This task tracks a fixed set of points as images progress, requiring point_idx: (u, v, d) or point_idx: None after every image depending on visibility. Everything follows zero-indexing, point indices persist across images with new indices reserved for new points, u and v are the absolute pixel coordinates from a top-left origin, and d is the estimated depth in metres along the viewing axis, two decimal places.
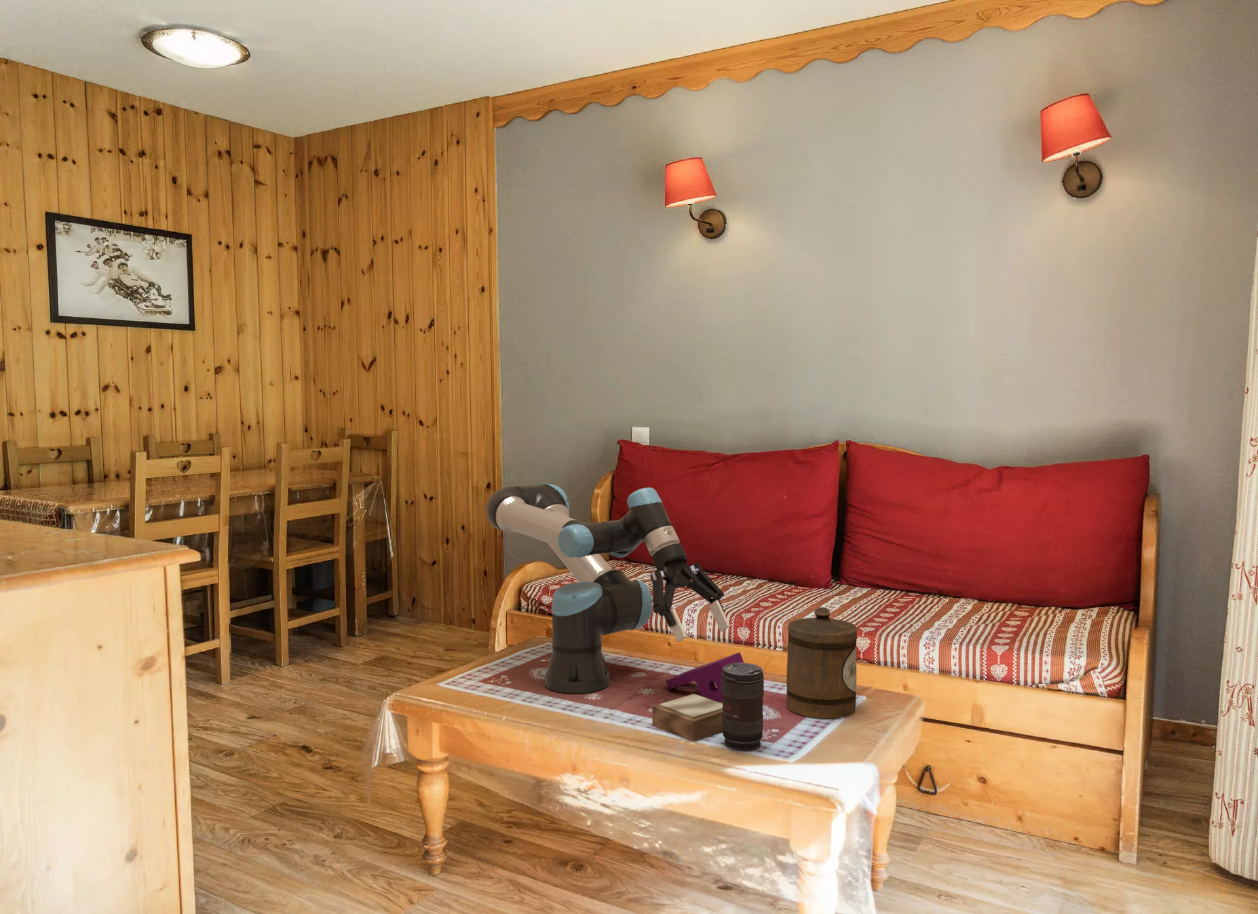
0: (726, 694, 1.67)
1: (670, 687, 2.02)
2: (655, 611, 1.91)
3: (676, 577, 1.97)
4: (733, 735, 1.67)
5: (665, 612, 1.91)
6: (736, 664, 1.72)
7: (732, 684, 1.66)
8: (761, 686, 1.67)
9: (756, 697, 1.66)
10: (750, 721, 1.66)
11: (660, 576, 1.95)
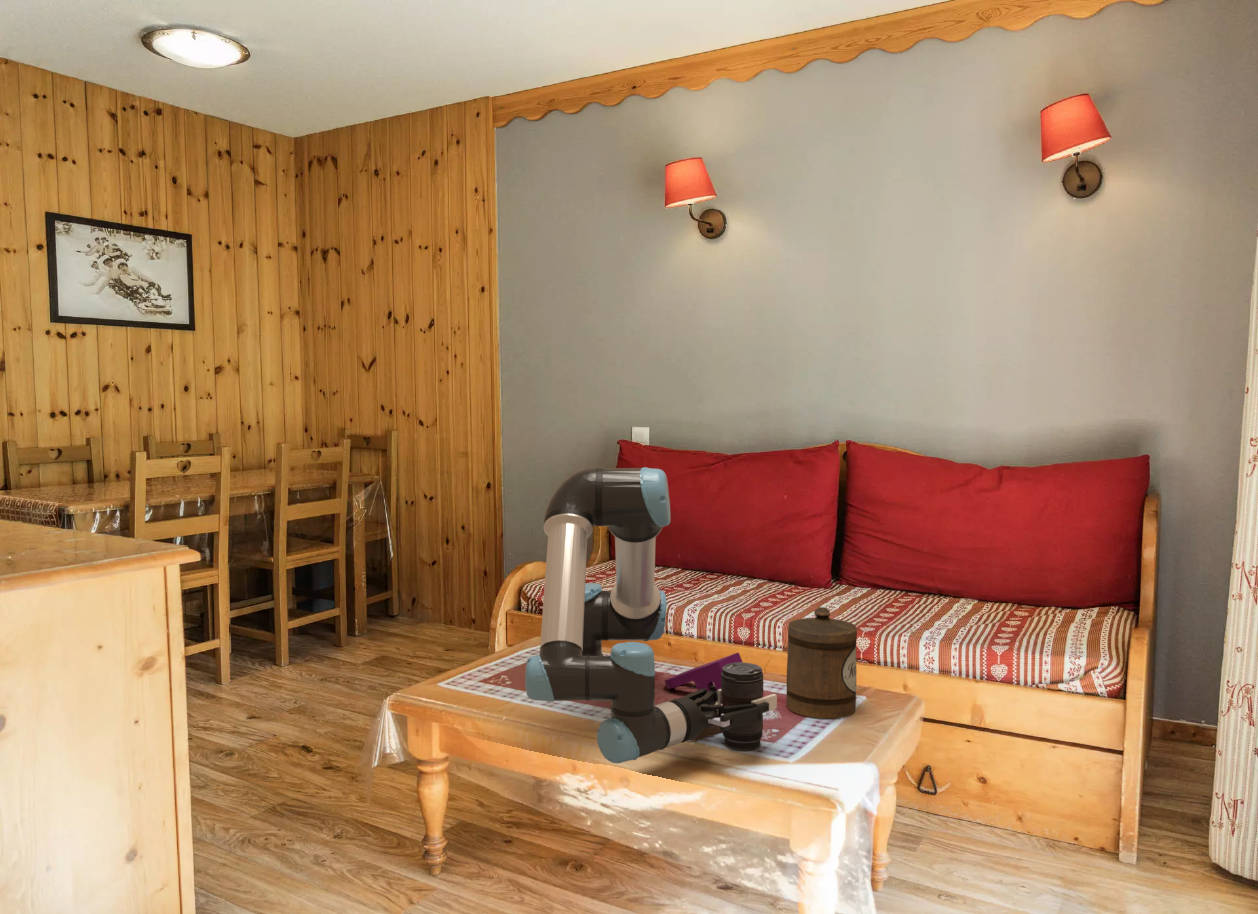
0: (725, 693, 1.67)
1: (669, 687, 2.02)
2: None
3: None
4: (733, 734, 1.67)
5: None
6: (735, 664, 1.72)
7: (731, 683, 1.66)
8: (761, 685, 1.67)
9: (756, 696, 1.66)
10: None
11: None
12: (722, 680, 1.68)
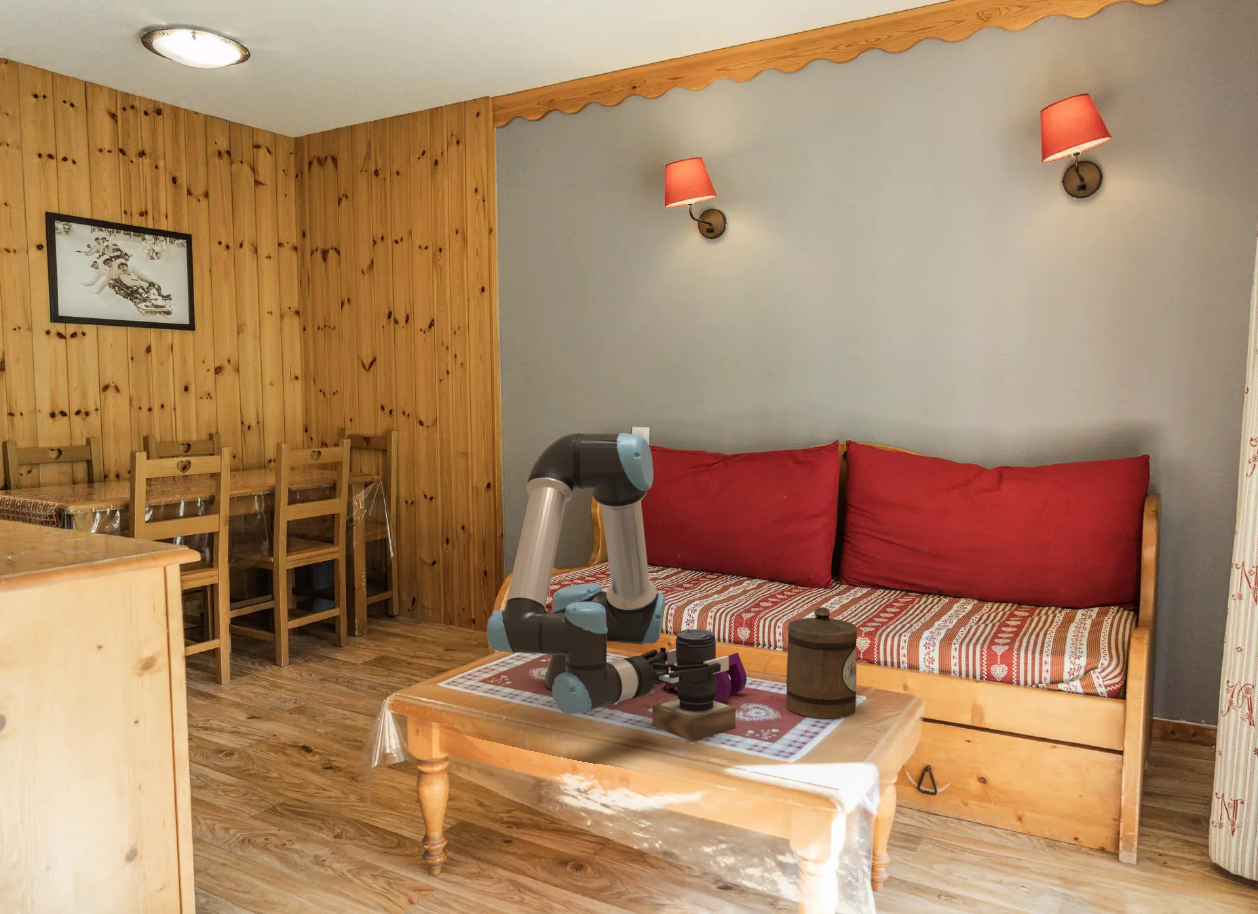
0: (679, 657, 1.76)
1: (668, 687, 2.02)
2: None
3: None
4: (687, 696, 1.75)
5: None
6: (690, 630, 1.81)
7: (684, 648, 1.75)
8: (713, 650, 1.76)
9: (708, 660, 1.75)
10: (702, 683, 1.75)
11: None
12: (676, 645, 1.77)
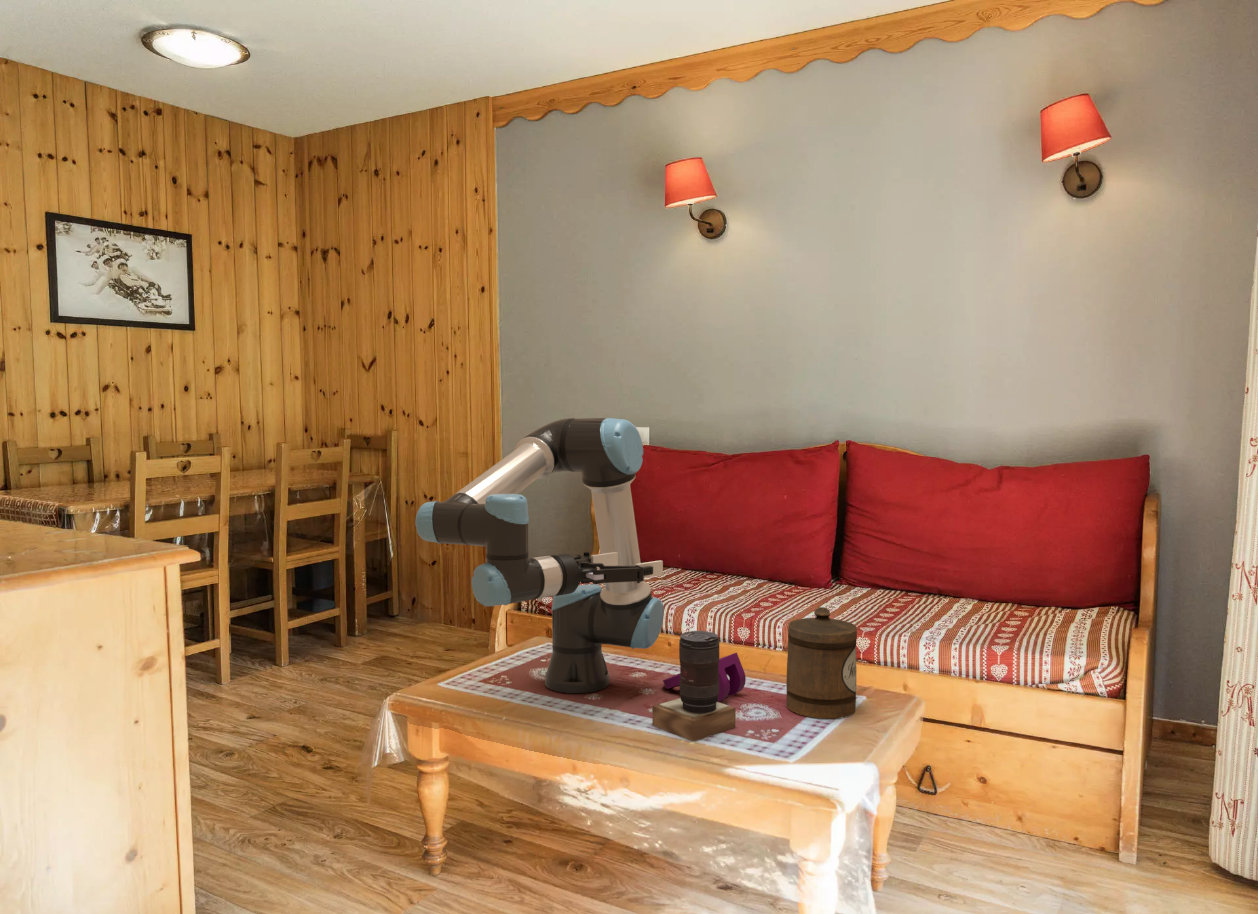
0: (682, 659, 1.75)
1: (667, 687, 2.02)
2: None
3: None
4: (689, 699, 1.74)
5: None
6: (694, 632, 1.80)
7: (687, 649, 1.74)
8: (716, 652, 1.74)
9: (711, 662, 1.74)
10: (705, 685, 1.73)
11: None
12: (680, 647, 1.76)
